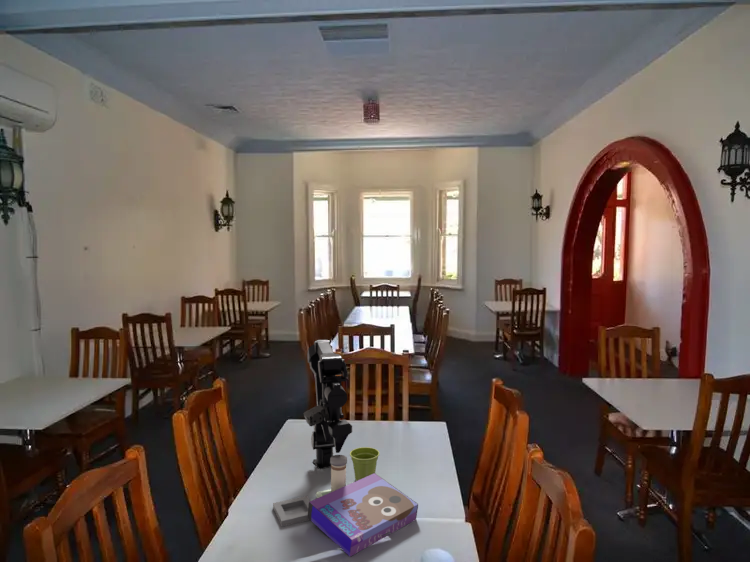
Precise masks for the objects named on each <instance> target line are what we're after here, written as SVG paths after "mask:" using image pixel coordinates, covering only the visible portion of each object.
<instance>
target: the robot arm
mask: <svg viewBox="0 0 750 562" xmlns="http://www.w3.org/2000/svg"><path fill="white" fill-rule="evenodd" d="M306 355H307V356H306V357H307V359H306V360H307V363H308V364H309V369H310V370H311V372H312V373H313V374H314V380H315V383H314V384H315V394H316V395H315V396H316V397H315V398H316V406H313V407H311V408H310V409H308V410H306V411H304V412H303V417H304V419H305V422H306V424H308V425H309V427H313V431H312V432H311V438H310V440H311V442H310V443H311V447H312V450H313V451H314V450H315V455H316V456H315V459H313V460H312V462H313V463H314V465H315V466H316V468H318V469H325V468H329V467H330V468H331V463H330V458H331V457H332V456H334V449H335V453H336V454H340V452H341V450H342V449H343V446H344V444H345V443H346V440H347V438H348V437H349V435H350V434H352V433H353V425H352V424H351V423H350V422H348V421H347V420H346V419H345V418H344V417H345V415H344V413H343V412H342V407H344V406H345V405H346V404H347V401H348V394H347V392H346V391H345V389H344V387H343V382H347V381H348V379H347V378H348V376H349V373H348V369H347V367H348V366H347V363H346V362H345V359H343V357H342V356H341V355H340V354H339V353H334V349H333V346H332V345H331V341H330V340H328V339H317V340H315V341H314V343H313V344H312V345H311V346H310V347H308V349H307V354H306ZM340 419H341V420H340Z"/></svg>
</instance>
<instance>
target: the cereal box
mask: <svg viewBox="0 0 750 562" xmlns="http://www.w3.org/2000/svg"><path fill="white" fill-rule="evenodd" d="M418 509H419V503H417V502H416V501H414V499H412V498H410V497H409V496H408V495H406V494H405V493H404V492H402V491H401V490H400V489H398V488H397V487H396V486H394V485H393V484H391V483H390V482H388V481H387V480H385V479H384V478H383V477H382V476H380V475H379V474H378V473H376V472H375V473H374V474H371V475H369V476H367V477H365V478H362V479H360V480H358V481H356V480H355V481H353V482H351V483H349V484H346V486H344V487H342V488H340V489H337V490H335V491H333V492H331V493H328V494H326V495H324V496H322V497H319V498H317V497H316V498H315V499H313V500H310V502H309V507H308V518H309V519H310V520H309V521H311V522H312V523H313V524H314V525H315V526H317V528H319V530H321V531H322V532H323V533H324V534H325V535H326V536H327V537H328V538H329V539H330V540H331V541H332V542H334V544H336V545H337V546H339V548H340V549H341V550H342V551H343V552H345V554H347V555H348V556H349V557H352V556H354V555H356V554H357V553H359V552H361V551H363V550H365V549H367V548H369V547H370V546H372V545H373V544H376V543H377V542H378V541H380V540H383V539H384V538H386V537H388V536H389V533H390V534H394V533H395V532H396V531H398V530H400V529H401V528H403V527H405V526H407V525H409V524H410V523H412V522H414V521H416V520H417V517H418ZM387 533H388V534H387Z"/></svg>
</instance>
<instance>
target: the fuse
mask: <svg viewBox="0 0 750 562" xmlns="http://www.w3.org/2000/svg"><path fill="white" fill-rule="evenodd" d="M330 463H331V466H330V489H331V492H333V491H335V490H337V489H340V488H342V487H344V486H347V481H346V480H347V464H348V457H347V456H346V455H343V454H335V455H334V454H333V456H332V457H331V458H330Z"/></svg>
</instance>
